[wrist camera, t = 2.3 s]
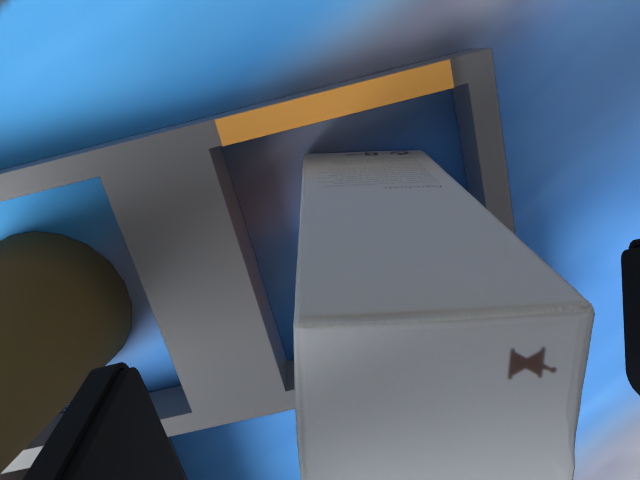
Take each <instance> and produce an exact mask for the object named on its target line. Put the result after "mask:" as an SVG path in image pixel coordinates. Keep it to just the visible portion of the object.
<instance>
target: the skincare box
mask: <svg viewBox="0 0 640 480" xmlns="http://www.w3.org/2000/svg"><path fill="white" fill-rule="evenodd" d="M594 316H595V313H594V309H593V306H592V304H591V303H590V302H589V301H588V300H586V299H585V298H584V297H583V296H582V295H581V294H580V293H579V292H578V291H577V290H576V289H575V288H574V287H572V286H571V285H570V284H569V283H568V282H567V281H566V280H565V279H564V278H562V277H561V276H560V275H559V274H558V273H557V272H556V271H554V270H553V269H552V268H551V267H550V266H549V265H548V264H547V263H545V262H544V261H543V260H542V259H541V258H540V257H539V256H538V255H537V254H536V253H534V252H533V251H532V250H531V249H530V248H529V247H528V246H527V245H526V244H524V243H523V242H522V241H521V240H520V239H519V238H518V237H517V236H516V235H515V234H514V233H513V232H512V231H510V230H509V229H508V228H507V227H506V226H505V225H504V224H503V223H502V222H500V221H499V220H498V219H497V218H496V217H495V216H494V215H493V214H492V213H491V212H490V211H488V210H487V209H486V208H485V207H484V206H483V205H482V204H481V203H480V202H479V201H477V200H476V199H475V198H474V197H473V196H472V195H471V194H470V193H469V192H468V191H466V190H465V189H464V188H463V187H462V186H461V185H460V184H459V183H458V182H457V181H455V180H454V179H453V178H452V177H451V176H450V175H449V174H448V173H446V172H445V171H444V170H443V169H442V168H441V167H440V166H439V165H438V164H437V163H436V162H435V161H433V160H432V159H431V158H430V157H429V156H428V155H427V154H426V153H425V152H424V151H422V150H403V151H367V152H347V153H309V154H306V155H304V157H303V171H302V189H301V203H300V223H299V240H298V257H297V270H296V288H295V311H294V323H293V332H294V383H295V412H296V429H297V445H298V454H299V464H300V475H301V480H573V475H574V469H575V455H574V449H575V437H576V429H577V423H578V417H579V411H580V404H581V395H582V388H583V383H584V377H585V371H586V366H587V360H588V353H589V347H590V340H591V334H592V328H593V322H594Z"/></svg>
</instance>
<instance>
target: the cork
mask: <svg viewBox="0 0 640 480" xmlns="http://www.w3.org/2000/svg"><path fill="white" fill-rule="evenodd" d="M131 321H132V304H131V301H130V298H129V295H128V292H127V289H126V286H125V283H124V281H123V280H122V279H121V277H120V276H119V274H118V273H117V272H116V270H115V269H114V268H113V266H112V265H111V263H110V262H109V261H108V260H106V259H105V258H104V257H103V256H101V255H100V254H99V253H97V252H96V251H95V250H94V249H92V248H91V247H90V246H88V245H86V244H84V243H82V242H79V241H77V240H74V239H72V238H70V237H67V236H65V235H62V234H54V233H46V232H37V231H34V232H28V233H23V234H17V235H12V236H9V237H7V238H5V239H3V240H2V241H0V474H1V473H2V472H3V471H4V470H5V469H6V468H7V467H8V466H9V465H10V463H11V462H12V461H13V460H14V459H15V458H16V457H17V456H18V455H19V454H20V453H21V452H22V451H23V450H24V449H25V448H26V447H27V446H28V445H29V444H30V443H31V442H32V441H33V440H34V439H35V438H36V437H37V436H38V435H39V434H40V432H41V431H42V430H43V429H44V428H45V427H46V426H47V425H48V424H49V423H50V422H51V421H52V420H53V419H54V418H55V417H56V416H57V415H58V414H59V413H60V412H61V411H62V410H63V409H64V408H65V407H66V406H67V405H68V404H69V403H70V401H71V400H72V399H73V398H74V396H75V395H76V393H77V392H78V390H79V388H80V387H81V385H82V384H83V382H84V380H85V379H86V377H87V376H88V374H89V373H90V371H91V370H92V369H96V368H100V367H104V366H105V365H106V364H107V363H108V362H109V361H110V360H111V359H112V358H113V357H114V356H115V355H116V354H117V353H118V352H119V351H120V350H121V348H122V347H123V346H124V344H125V341H126V339H127V336H128V334H129V332H130V329H131Z"/></svg>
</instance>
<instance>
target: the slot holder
mask: <svg viewBox="0 0 640 480" xmlns="http://www.w3.org/2000/svg"><path fill="white" fill-rule="evenodd" d="M451 88H452V91H453V97H454V104H455V110H456V116H457V123H458V129H459V136H460V142H461V149H462V155H463V161H464V168H465V174H466V181H467V187H468V192H469V193H470V194H471V195H472V196H473V197H474V198H475V199H476V200H477V201H479V202H480V203H481V204H482V205H483V206H484V207H485V208H486V209H487V210H488V211H490V212H491V213H492V214H493V215H494V216H495V217H496V218H497V219H498V220H499V221H500V222H502V223H503V224H504V225H505V226H506V227H507V228H508V229H509V230H510V231H512V232H513V233H514V234H515V227H514V220H513V212H512V204H511V196H510V188H509V181H508V173H507V165H506V157H505V149H504V142H503V134H502V126H501V118H500V110H499V102H498V95H497V87H496V79H495V71H494V63H493V56H492V48H477V49H468V50H464V51H460V52H456V53H453V54H449V55H445V56H441V57H437V58H433V59H429V60H425V61H422V62H418V63H414V64H410V65H406V66H402V67H398V68H394V69H390V70H387V71H383V72H379V73H375V74H371V75H367V76H363V77H359V78H355V79H352V80H348V81H344V82H340V83H336V84H332V85H328V86H324V87H321V88H317V89H313V90H309V91H305V92H301V93H297V94H293V95H289V96H286V97H282V98H278V99H274V100H270V101H266V102H262V103H258V104H254V105H251V106H247V107H243V108H239V109H235V110H231V111H227V112H223V113H220V114H216V115H212V116H208V117H204V118H200V119H196V120H192V121H188V122H185V123H181V124H177V125H173V126H169V127H165V128H161V129H157V130H154V131H150V132H146V133H142V134H138V135H134V136H130V137H126V138H122V139H119V140H115V141H111V142H107V143H103V144H99V145H95V146H91V147H87V148H84V149H80V150H76V151H72V152H68V153H64V154H60V155H56V156H53V157H49V158H45V159H41V160H37V161H33V162H29V163H25V164H21V165H18V166H14V167H10V168H6V169H2V170H0V202H1V201H5V200H9V199H13V198H17V197H21V196H24V195H28V194H32V193H36V192H40V191H44V190H48V189H52V188H56V187H60V186H64V185H68V184H72V183H76V182H80V181H84V180H88V179H91V178H95V177H100V179H101V182H102V185H103V187H104V190H105V192H106V195H107V197H108V200H109V202H110V205H111V207H112V210H113V212H114V215H115V217H116V220H117V223H118V225H119V228H120V230H121V233H122V235H123V238H124V240H125V243H126V245H127V248H128V250H129V253H130V255H131V258H132V261H133V263H134V266H135V268H136V271H137V273H138V276H139V278H140V281H141V283H142V286H143V288H144V291H145V293H146V296H147V299H148V301H149V304H150V306H151V309H152V311H153V314H154V316H155V319H156V321H157V324H158V326H159V329H160V331H161V334H162V337H163V339H164V342H165V344H166V347H167V349H168V352H169V354H170V357H171V359H172V362H173V364H174V367H175V369H176V372H177V375H178V377H179V380H180V382H181V385H180V386H176V387H172V388H167V389H163V390H158V391H154V392H150V393H149V396H150V398H151V400H152V403H153V405H154V407H155V409H156V412H157V414H158V416H159V419H160V421H161V423H162V425H163V428H164V430H165V432H166V434H167V437H170V436H175V435H179V434H184V433H188V432H193V431H197V430H202V429H206V428H211V427H215V426H220V425H224V424H229V423H233V422H238V421H242V420H247V419H251V418H256V417H260V416H265V415H269V414H274V413H278V412H283V411H287V410H292V409H295V383H294V360H290V361H287V358H286V355H285V352H284V348H283V345H282V342H281V339H280V335H279V332H278V329H277V326H276V322H275V319H274V316H273V313H272V309H271V306H270V303H269V300H268V297H267V293H266V290H265V287H264V284H263V280H262V277H261V274H260V271H259V267H258V264H257V261H256V258H255V254H254V251H253V248H252V245H251V242H250V238H249V235H248V232H247V229H246V225H245V222H244V219H243V216H242V212H241V209H240V206H239V203H238V200H237V196H236V193H235V190H234V187H233V183H232V180H231V177H230V174H229V170H228V167H227V164H226V161H225V157H224V154H223V151H222V148H221V146H226V145H230V144H234V143H238V142H242V141H246V140H250V139H254V138H258V137H262V136H266V135H270V134H274V133H278V132H282V131H286V130H290V129H293V128H297V127H301V126H305V125H309V124H313V123H317V122H321V121H325V120H329V119H333V118H337V117H341V116H345V115H349V114H353V113H357V112H361V111H364V110H368V109H372V108H376V107H380V106H384V105H388V104H392V103H396V102H400V101H404V100H408V99H412V98H416V97H420V96H424V95H428V94H432V93H435V92H439V91H443V90H447V89H451ZM63 414H64V412H62V413H59V414H58V415H57V416H56V417H55V418H54V419H53V420H52V421H51V422H50V423H49V424H48V425H47V426H46V427H45V428H44V429H43V430H42V431H41V432H40V434H39V435H38V436H37V437H36V438H35V439H34V440H33V441H32V442H31V443H30V444H29V445H28V446H27V447H26V448H25V449H24V450H23V451H22V452H21V453H20V454H19V455H18V456H17V457H16V458H15V459H14V460H13V461H12V462H11V463H10V465H9V466H8V467H7V468H6V469H5V470H4V471H3V472H2V473H1V474H3V473H8V472H12V471H17V470H21V469H26V468H30V467H31V465H32V464H33V462H34V460H35V459H36V457H37V456H38V454H39V452H40V451H41V449H42V448H43V446H44V444H45V443H46V441H47V440H48V438H49V436H50V435H51V433H52V432H53V430H54V428H55V427H56V425H57V424H58V422H59V420H60V419H61V417H62V416H63Z"/></svg>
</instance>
